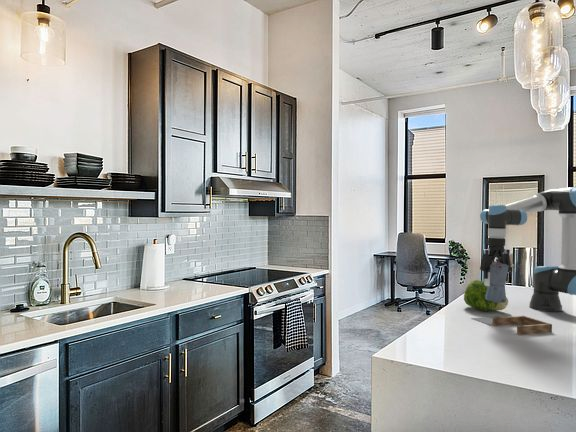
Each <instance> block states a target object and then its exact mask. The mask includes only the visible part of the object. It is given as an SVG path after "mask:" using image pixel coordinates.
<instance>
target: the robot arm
mask: <svg viewBox="0 0 576 432" xmlns="http://www.w3.org/2000/svg"><path fill="white" fill-rule="evenodd" d="M544 211H558V215H559V216H560V217H561V251H560V253H561V255H560V259H561V260H560V262H561V263H560V264H559V265H543V266H542V265H540V266H538V265H537V266H535V267H534V272H533V293H532V296H531V299H530V301H529V308H531V309H534V310H538V311H544V312H551V313H552V312H555V313H556V312H562V311H563V305H562V303H561V299H560V296H559V293H562V294H569V295H570V296H576V186H574V187H560V188H559V187H555V188H551V189H548V190H544V191H541V192H538V193H534V194H532V196H531V197H528V198H525V199H521V200H518V201H515V202H511V203H507V204H490V205H489V207H488V209H487V208H485V209H483V210H482V211H481V212H480V215H479V216H480V221H481V223H483V224H487V225H488V227H487V236H488V237H487V245H488V247H487V249H482V256H481V261H480V267H479V270H480V271H482V272H483V279H484V280H483V282H484V285H486V286H490V272H489V270H490V265H491V264H492V263H493V262H494V261H495V260H496V259H500V260H499V263H503V264H506V265H509V268H508V273H509V272H510V271H511V270H512V264H511V259H510V258H511V257H510V253H511V252H510V251H511V250H510V249H506V248H505V247H506V235H507V232H506V230H507V226H522V225H523V226H524V225H525V224H526V223H527V221H528V214H530V213H534V212H544ZM506 285H507V280H506V281H505V285H504V286H505V287H506Z"/></svg>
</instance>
